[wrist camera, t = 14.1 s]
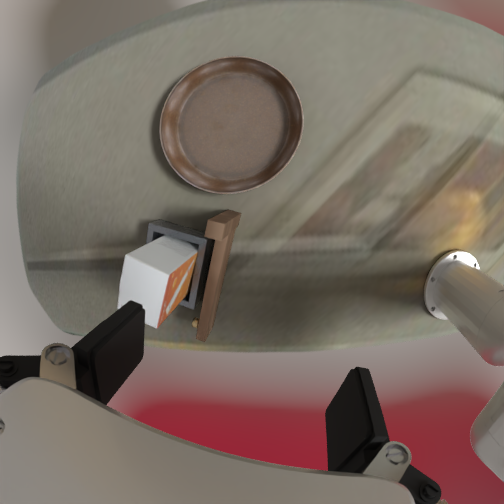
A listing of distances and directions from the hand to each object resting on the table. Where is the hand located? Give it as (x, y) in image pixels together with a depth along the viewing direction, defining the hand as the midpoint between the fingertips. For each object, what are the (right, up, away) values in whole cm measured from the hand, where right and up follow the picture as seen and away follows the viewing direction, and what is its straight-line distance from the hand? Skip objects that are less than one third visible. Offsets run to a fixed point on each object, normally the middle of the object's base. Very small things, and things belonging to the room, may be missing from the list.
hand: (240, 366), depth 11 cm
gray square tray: (-11, +3, +32) cm, 35 cm away
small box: (-11, +3, +32) cm, 34 cm away
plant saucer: (-2, +23, +26) cm, 35 cm away
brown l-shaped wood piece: (-4, +1, +32) cm, 32 cm away
